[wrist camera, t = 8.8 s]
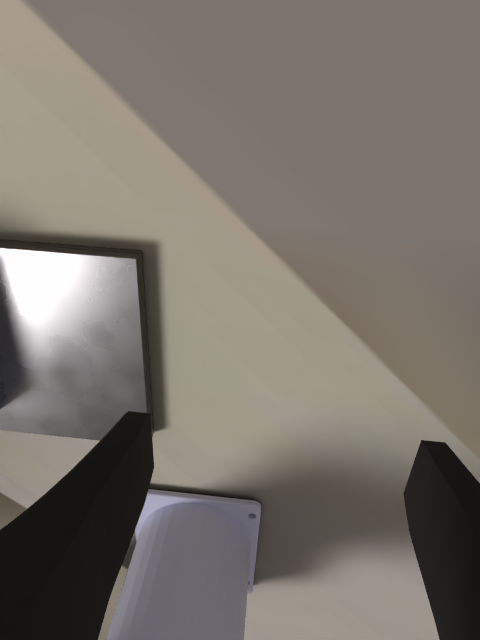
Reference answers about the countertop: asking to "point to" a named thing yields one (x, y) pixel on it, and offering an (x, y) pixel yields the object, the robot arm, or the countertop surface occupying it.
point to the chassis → (71, 338)
